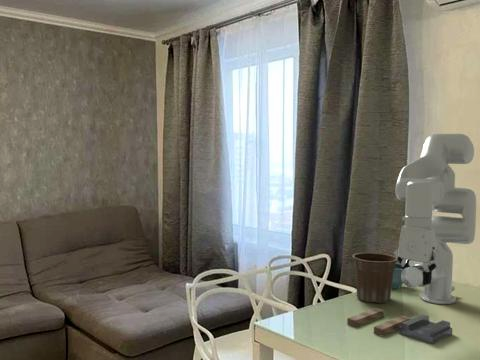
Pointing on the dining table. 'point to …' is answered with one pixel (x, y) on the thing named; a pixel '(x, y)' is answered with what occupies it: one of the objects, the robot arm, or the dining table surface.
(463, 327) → the dining table surface
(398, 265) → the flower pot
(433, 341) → the v block
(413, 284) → the axle
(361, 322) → the wooden blocks
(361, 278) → the plant pot
